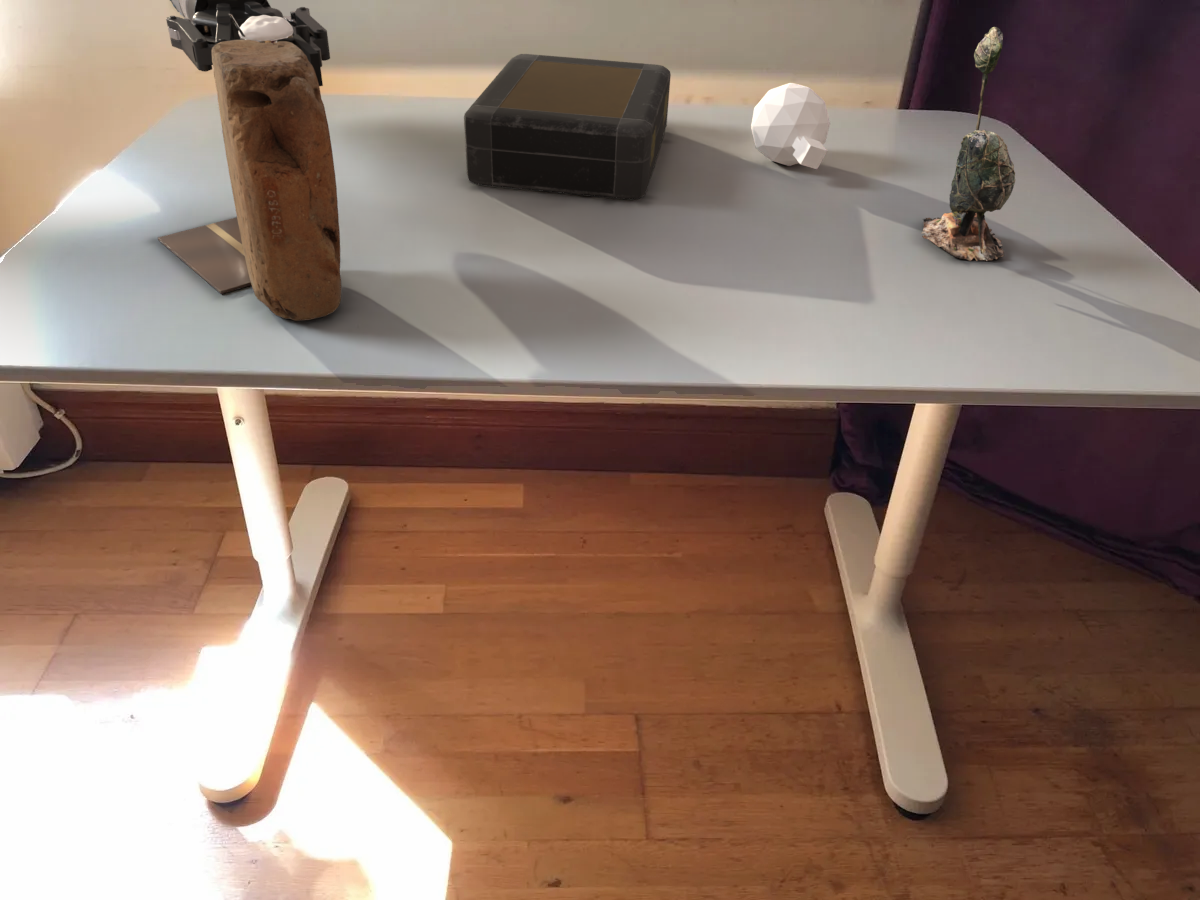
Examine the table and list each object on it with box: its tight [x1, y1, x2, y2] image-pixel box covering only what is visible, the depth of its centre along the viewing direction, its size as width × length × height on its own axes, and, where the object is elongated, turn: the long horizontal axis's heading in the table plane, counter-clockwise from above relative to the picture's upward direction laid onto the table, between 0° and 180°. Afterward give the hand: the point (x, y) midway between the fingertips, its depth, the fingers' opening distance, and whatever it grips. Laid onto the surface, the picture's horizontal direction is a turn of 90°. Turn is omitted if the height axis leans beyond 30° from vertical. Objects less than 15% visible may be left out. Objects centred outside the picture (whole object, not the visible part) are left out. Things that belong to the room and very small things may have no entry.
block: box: [212, 40, 342, 322], centre depth 75 cm, size 11×8×20 cm
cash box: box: [463, 53, 672, 201], centre depth 109 cm, size 25×20×8 cm
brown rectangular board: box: [157, 216, 252, 295], centre depth 88 cm, size 14×10×1 cm
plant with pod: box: [921, 26, 1016, 262], centre depth 89 cm, size 8×11×20 cm
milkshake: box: [229, 14, 295, 45], centre depth 84 cm, size 5×5×10 cm
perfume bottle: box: [750, 82, 831, 170], centre depth 109 cm, size 9×9×12 cm
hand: (286, 72), depth 80 cm, fingers closed on milkshake, 4 cm apart
